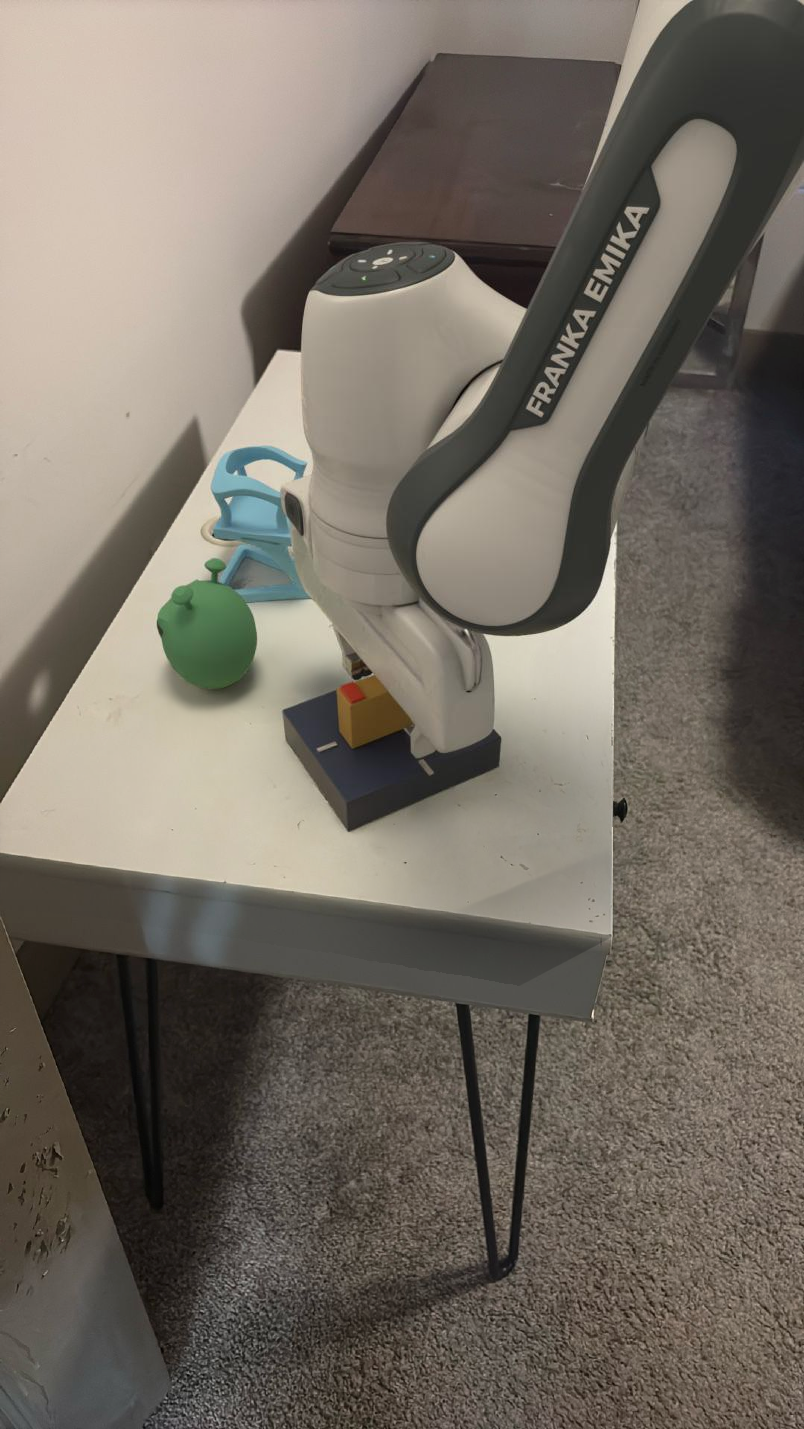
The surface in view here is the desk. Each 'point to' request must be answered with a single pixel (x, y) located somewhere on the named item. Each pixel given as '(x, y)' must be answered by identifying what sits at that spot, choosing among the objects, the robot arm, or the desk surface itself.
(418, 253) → the robot arm
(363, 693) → the tan battery-shaped brick
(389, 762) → the navy square base
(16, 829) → the desk surface
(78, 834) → the desk surface
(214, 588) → the alien toy
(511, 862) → the desk surface
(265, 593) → the chair
